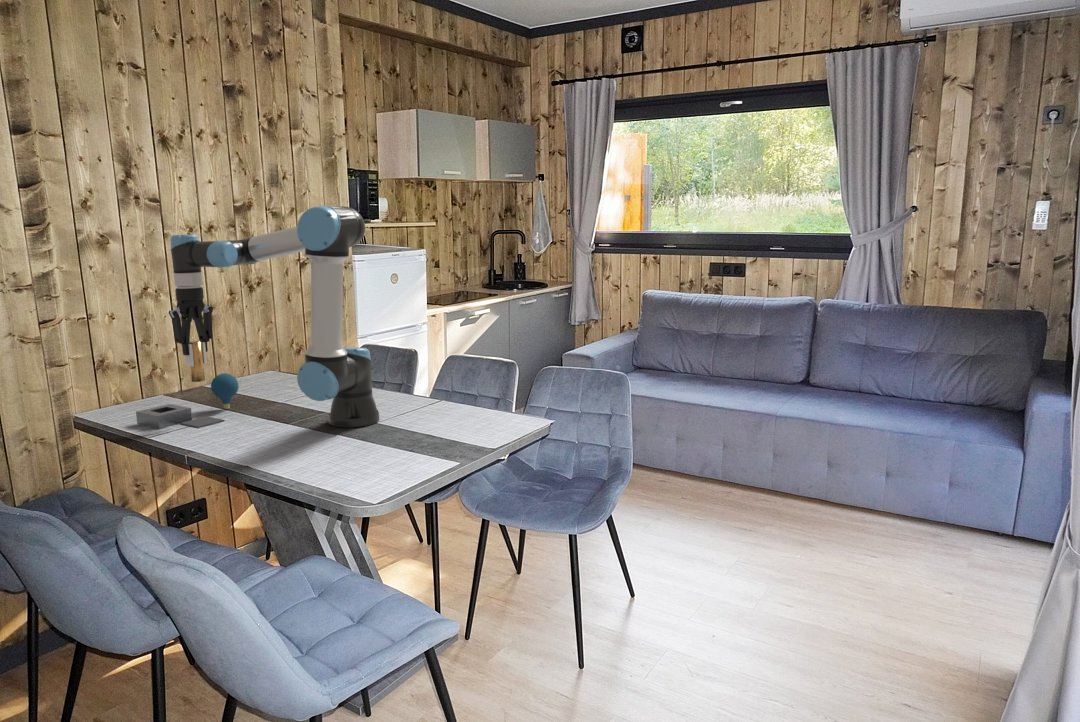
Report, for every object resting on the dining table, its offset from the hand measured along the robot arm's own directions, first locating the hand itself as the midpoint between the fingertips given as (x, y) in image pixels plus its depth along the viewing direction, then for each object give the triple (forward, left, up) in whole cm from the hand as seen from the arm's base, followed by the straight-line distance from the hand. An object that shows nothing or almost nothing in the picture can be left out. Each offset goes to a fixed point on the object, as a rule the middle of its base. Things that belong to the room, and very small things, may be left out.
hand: (196, 364), depth 229 cm
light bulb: (+8, -15, -19) cm, 25 cm away
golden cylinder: (0, 0, -5) cm, 5 cm away
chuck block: (+11, +5, -18) cm, 22 cm away
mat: (0, 0, -18) cm, 18 cm away
